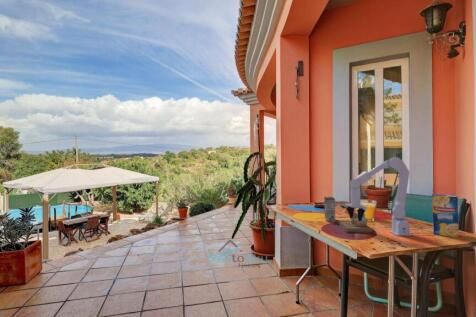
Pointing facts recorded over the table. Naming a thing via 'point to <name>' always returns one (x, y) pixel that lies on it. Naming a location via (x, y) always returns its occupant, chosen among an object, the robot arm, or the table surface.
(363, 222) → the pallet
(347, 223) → the dock
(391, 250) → the table surface
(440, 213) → the blue cereal box
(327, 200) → the coffee box
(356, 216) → the teal block
